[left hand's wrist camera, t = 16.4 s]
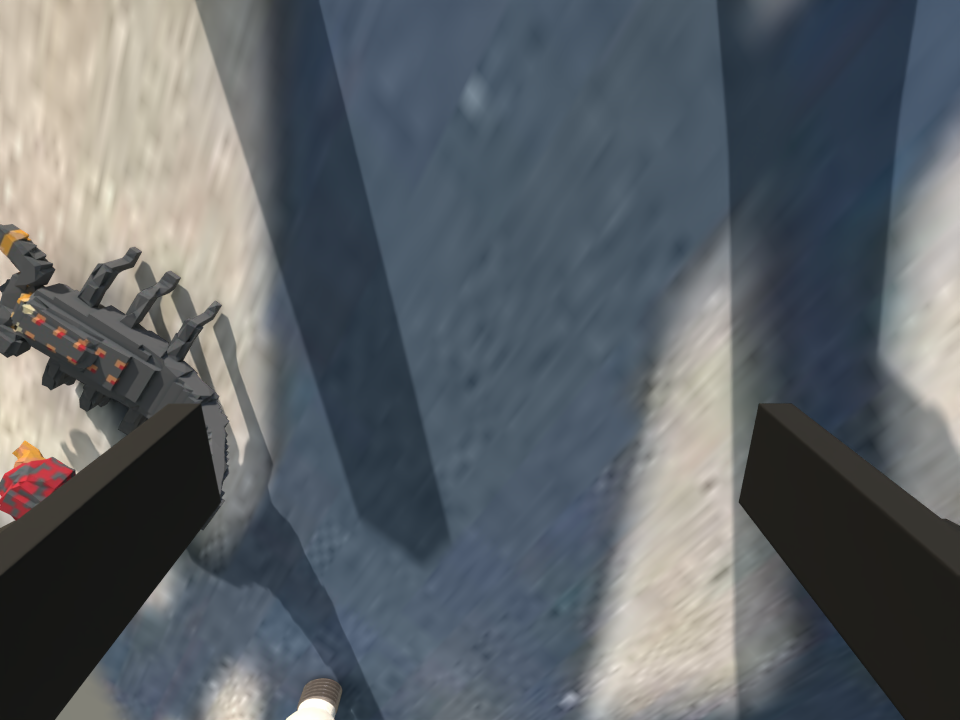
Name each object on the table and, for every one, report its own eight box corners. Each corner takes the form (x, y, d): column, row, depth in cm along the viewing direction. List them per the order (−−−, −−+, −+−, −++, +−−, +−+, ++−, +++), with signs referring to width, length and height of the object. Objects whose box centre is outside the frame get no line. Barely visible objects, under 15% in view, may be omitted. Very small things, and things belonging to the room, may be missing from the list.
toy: (240, 482, 46) (99, 670, 29) (-66, 300, 41) (-465, 401, 23) (321, 371, 43) (214, 511, 26) (-4, 154, 37) (-422, 146, 20)
